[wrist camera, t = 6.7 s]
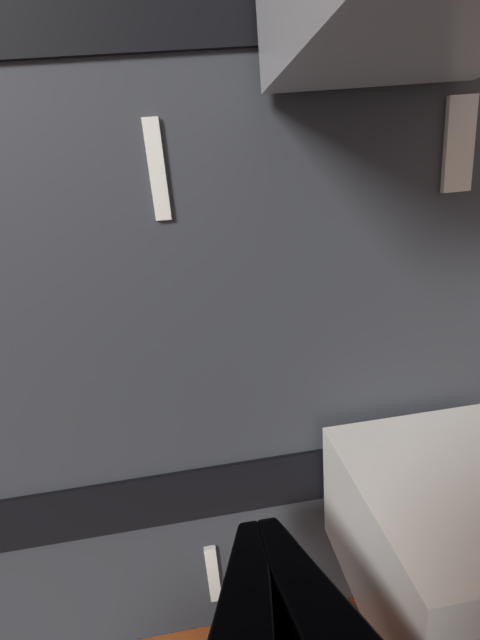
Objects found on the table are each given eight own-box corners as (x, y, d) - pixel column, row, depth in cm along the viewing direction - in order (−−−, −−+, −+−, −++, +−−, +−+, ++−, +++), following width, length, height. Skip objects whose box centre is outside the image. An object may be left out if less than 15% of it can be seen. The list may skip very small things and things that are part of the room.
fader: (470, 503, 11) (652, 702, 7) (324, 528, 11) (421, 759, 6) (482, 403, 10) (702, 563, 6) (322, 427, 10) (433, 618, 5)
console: (552, 500, 15) (611, 550, 13) (-191, 635, 12) (-264, 723, 10) (672, -116, 9) (807, -198, 7) (-619, -93, 7) (-951, -208, 5)
